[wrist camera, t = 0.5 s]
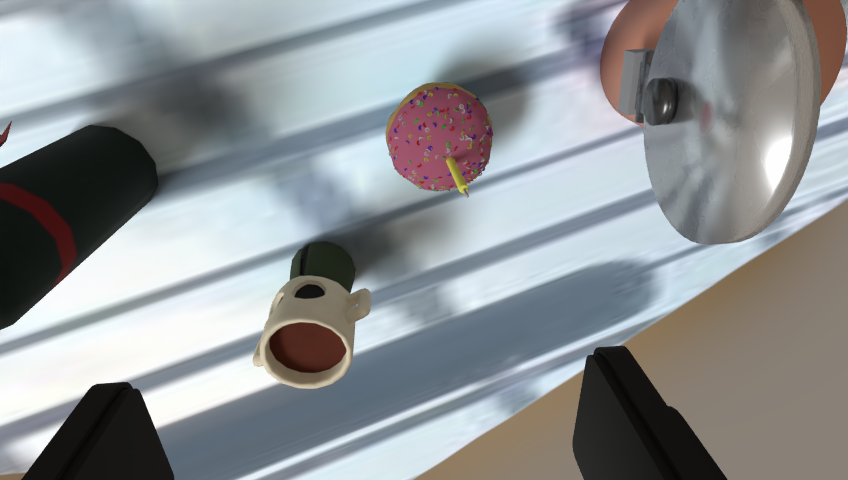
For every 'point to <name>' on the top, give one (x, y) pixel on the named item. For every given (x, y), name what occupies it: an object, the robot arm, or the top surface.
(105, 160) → the wine bottle
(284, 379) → the character mug
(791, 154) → the lid
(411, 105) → the cupcake
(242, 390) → the top surface
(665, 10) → the pot
